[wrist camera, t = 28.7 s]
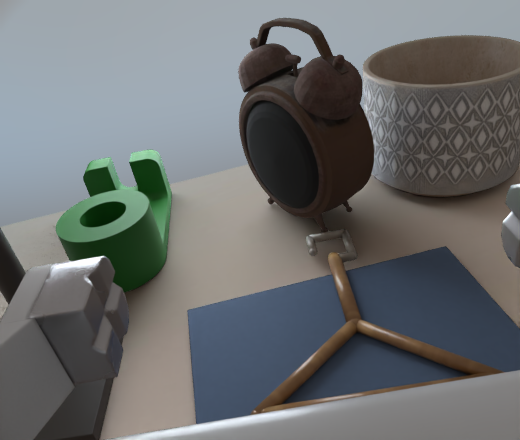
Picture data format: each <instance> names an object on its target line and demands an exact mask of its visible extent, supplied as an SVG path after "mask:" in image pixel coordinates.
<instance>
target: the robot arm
mask: <svg viewBox="0 0 520 440" xmlns="http://www.w3.org/2000/svg"><path fill="white" fill-rule="evenodd" d="M505 204H506V205H507V206H508V207H509V209H510V210H511V211H512V212H511V213H510V214H509V215H508V216H507V218H506V219H505V220H504V221H503V224H502V233H501V237H502V242H503V247H504V250H505V252H506V254H507V256H508V258H509V259H510V260H511V262H512V263H513V264H514V265H515V266H516V267H519V268H520V184H515V185H511V187H510V189H509V190H508V192H507V197H506V203H505ZM114 274H115V270H114V268H113V266H112V264H111V262H110V260H109V259H108V258H107V257H105V256H101V257H94V258H88V259H81V260H75V261H68V262H62V263H57V264H49V265H44V266H38V267H33V268H31V269H29V270H27V272H26V274H25V276H24V277H23V279H22V281H21V283H20V285H19V287H18V289H17V291H16V292H15V294H14V296H13V298H12V300H11V302H10V304H9V306H8V307H7V309H6V311H5V313H4V315H3V317H2V319H1V321H0V440H33V439H34V438H35V437H36V436H37V434H38V433H39V432H40V431H41V429H42V428H43V427H44V426H45V424H46V423H47V422H48V421H49V419H50V418H51V417H52V416H53V414H54V413H55V412H56V411H57V409H58V408H59V407H60V406H61V404H62V403H63V402H64V401H65V399H66V398H67V397H68V395H69V394H70V393H71V392H72V390H73V389H74V388H75V386H74V385H78V384H83V383H88V382H93V381H98V380H103V379H108V378H113V377H117V376H118V372H119V367H120V362H121V358H122V353H123V348H122V346H121V344H120V341H119V340H120V339H121V338H122V337H123V336H124V335H125V334H126V333H127V329H128V324H129V310H128V304H127V300H126V296H125V294H124V292H123V289H122V288H121V287H119V286H118V285H116V284H115V283H113V278H114ZM105 440H520V370H517V371H511V372H505V373H499V374H493V375H487V376H481V377H475V378H469V379H463V380H457V381H451V382H445V383H439V384H433V385H427V386H421V387H415V388H409V389H403V390H397V391H391V392H385V393H379V394H373V395H367V396H361V397H355V398H349V399H343V400H337V401H331V402H325V403H320V404H314V405H308V406H302V407H296V408H290V409H284V410H278V411H272V412H266V413H260V414H254V415H248V416H242V417H236V418H230V419H224V420H218V421H212V422H206V423H200V424H194V425H188V426H182V427H176V428H170V429H164V430H158V431H152V432H146V433H140V434H135V435H129V436H123V437H117V438H111V439H105Z"/></svg>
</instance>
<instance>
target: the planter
mask: <svg viewBox="0 0 520 440" xmlns="http://www.w3.org/2000/svg"><path fill="white" fill-rule="evenodd" d="M363 86H364V112H365V115H366V117H367V120H368V122H369V125H370V129H371V132H372V137H373V143H374V165H373V169H372V173H371V174H372V175H373V176H375V177H376V178H377V179H378V180H380V181H381V182H383V183H385V184H387V185H389V186H392V187H394V188H397V189H400V190H403V191H406V192H409V193H412V194H417V195H422V196H431V197H452V196H460V195H466V194H470V193H474V192H477V191H482V190H485V189H488V188H491V187H494V186H496V185H498V184H500V183H503V182H504V181H506V180H507V179H509V178H510V177H511V176H512V175H513V174H514V173H515V172H516V170H517V168H518V167H519V162H520V42H518V41H514V40H511V39H506V38H500V37H491V36H473V35H470V36H469V35H468V36H467V35H464V36H463V35H462V36H445V37H434V38H426V39H420V40H414V41H410V42H405V43H401V44H397V45H395V46H391V47H388V48H385V49H383V50H380V51H379V52H376V53H374V54H373V55H371V56H370V57H369V58H368V59H367V60H366V61H365V62H364V64H363Z"/></svg>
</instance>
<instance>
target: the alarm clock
mask: <svg viewBox="0 0 520 440" xmlns="http://www.w3.org/2000/svg"><path fill="white" fill-rule="evenodd" d="M274 26H282V27H291V28H296V29H299V30H301V31H303V32H305V33H307V34H309V35H310V36H311V38H312V39H313V41H314V43H315V45H316V47H317V49H318V51H319V53H320V55H321V56H320V57H317V58H315V59H312V60H311V61H310V62H309V63H307V64H306V65H305V66H304V67H303V68H299V69H297V63H300V61H301V58H300V57H299V56H297V55H292V54H291V53H290V52H289V51H288V50H287V49H286V48H285V47H284V46H281V45H279V44H266V41H267V37H268V34H269V30H270V29H271V27H274ZM265 44H266V45H265ZM250 45H251V48H252V49H253V51H251V52H250V53H248V54H247V55H246V56H245V57H244V59H243V60H242V62H241V63H240V66H239V71H238V72H239V79H240V83H241V86H242V89H243V91H244V92H248V91H249V92H248V93H247V94H246V96H245V97H244V99H243V101H242V104H241V108H240V114H239V129H240V136H241V141H242V146H243V149H244V153H245V156H246V159H247V161H248V164H249V166H250V168H251V170H252V172H253V174H254V176H255V177H256V179H257V181H258V182H259V184H260V185H261V187H262V188H263V189H264V190H265V192H266V193H267V194H268V195H269V196H270V198H269V199H268V203H269V204H273V203H274V202H276V203H277V204H278V205H279V206H280V207H281V208H283V209H284V210H286V211H287V212H289V213H291V214H293V215H295V216H298V217H302V218H311V217H314V218H315V220H316V221H317V223H318V224H319V226H320V227H321V228H322V233H324V232H328V229H327V228H326V227H325V224H324V220H323V217H322V213H324V212H326V211H329V210H331V209H333V208H335V207H337V206H339V205H341V204H343V205H344V206H345V207H346V208H347V209H346V210H347V212H351V211H352V208H351V207H349V204H348V202H347V200H348V199H349V198H350V197H352V196H353V195H354V194H355V193H357V192H358V191H360V190H361V189H362V188H363V187H364V186H365V185H366V183H367V182H368V180H369V178H370V176H371V173H372V169H373V165H374V143H373V137H372V132H371V129H370V125H369V122H368V120H367V117H366V115H365V113H364V111H363V109H362V107H361V105H360V101H361V97H362V79H361V76H360V74H359V72H358V70H357V69H356V68H355V67H354V66H353V65H352V64H351V63H350V62H348V61H346V60H345V59H344V56H343V55H338V56H333V55H332V52H331V50H330V48H329V45H328V44H327V41H326V39H325V37H324V35H323V33H322V32H321V30H320V29H319V28H318V27H317V26H315V25H312V24H311V23H309V22H307V21H304V20H299V19H291V18H278V19H275V20H272V21H270V22H267V23H265V24H263V25H262V26H261V27H260V30H259V34H258V39H256V38H252V39H251V40H250ZM292 69H293V70H292ZM291 70H292V71H291Z"/></svg>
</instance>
